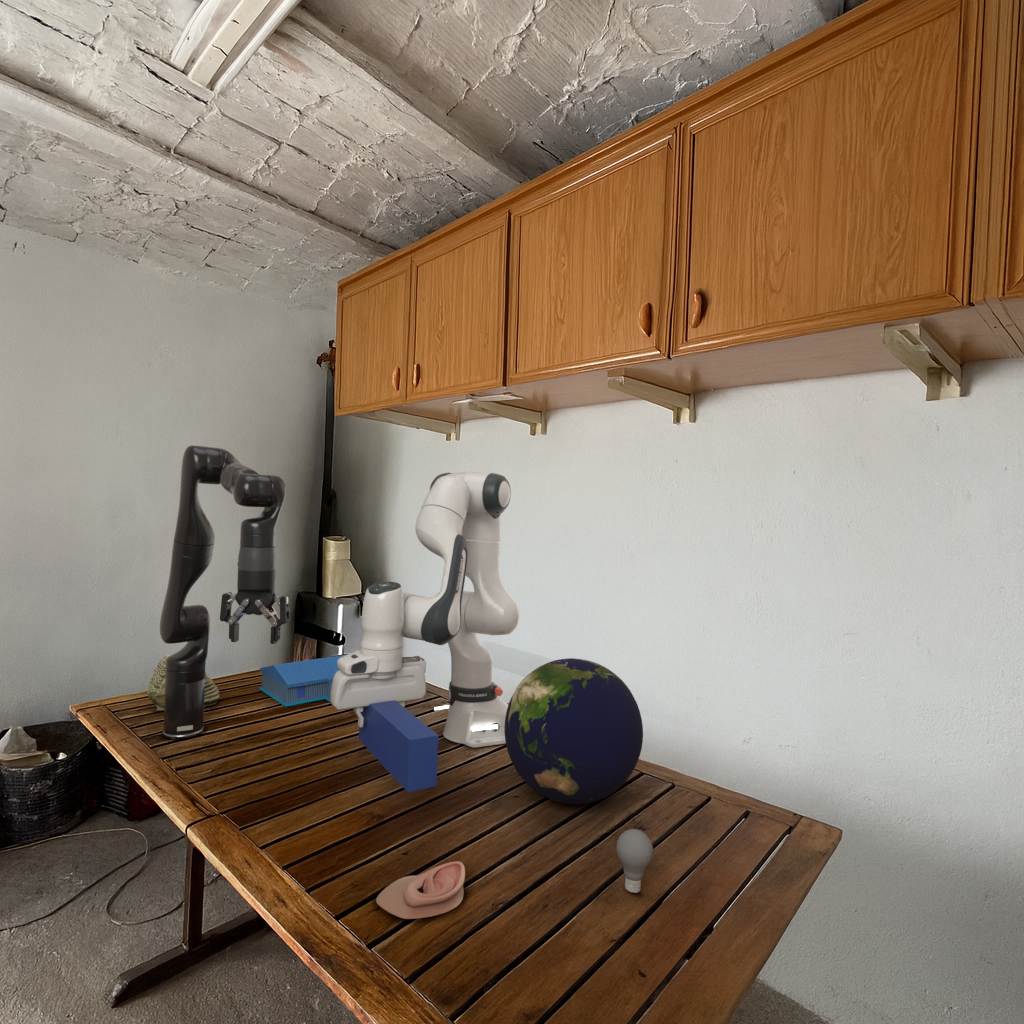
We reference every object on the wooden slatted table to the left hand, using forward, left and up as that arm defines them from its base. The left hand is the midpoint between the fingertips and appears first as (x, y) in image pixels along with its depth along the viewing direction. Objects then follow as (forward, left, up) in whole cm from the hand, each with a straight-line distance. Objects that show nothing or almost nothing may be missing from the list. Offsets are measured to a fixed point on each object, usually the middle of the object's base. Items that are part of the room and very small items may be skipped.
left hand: (254, 642), depth 136 cm
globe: (+47, +51, -31) cm, 76 cm away
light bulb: (+76, +34, -31) cm, 89 cm away
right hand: (+20, +19, -16) cm, 32 cm away
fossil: (-62, +5, -31) cm, 70 cm away
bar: (+30, +17, -20) cm, 40 cm away
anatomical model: (+55, +6, -31) cm, 64 cm away
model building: (-53, +47, -31) cm, 78 cm away
